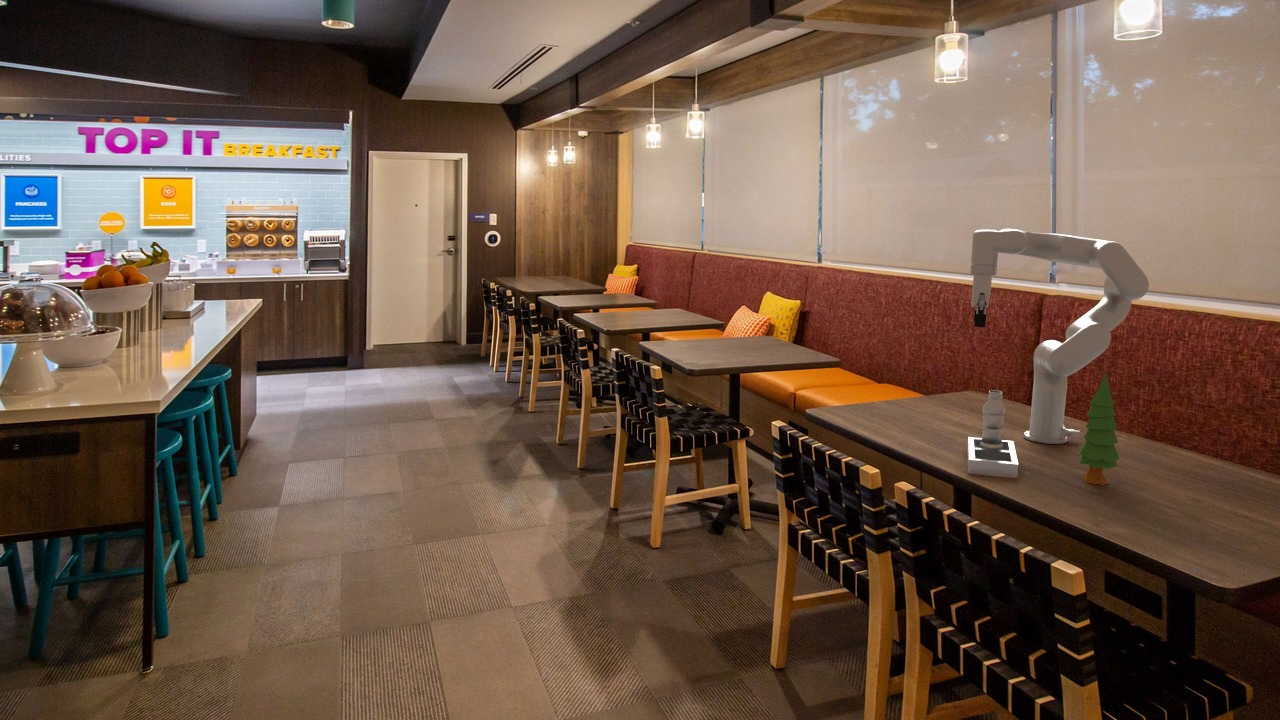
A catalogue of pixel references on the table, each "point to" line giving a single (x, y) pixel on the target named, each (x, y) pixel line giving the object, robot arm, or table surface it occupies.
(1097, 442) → the decorative tree
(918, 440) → the table surface
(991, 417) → the plastic bottle
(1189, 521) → the table surface
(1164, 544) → the table surface
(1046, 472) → the table surface
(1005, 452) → the white flat box
